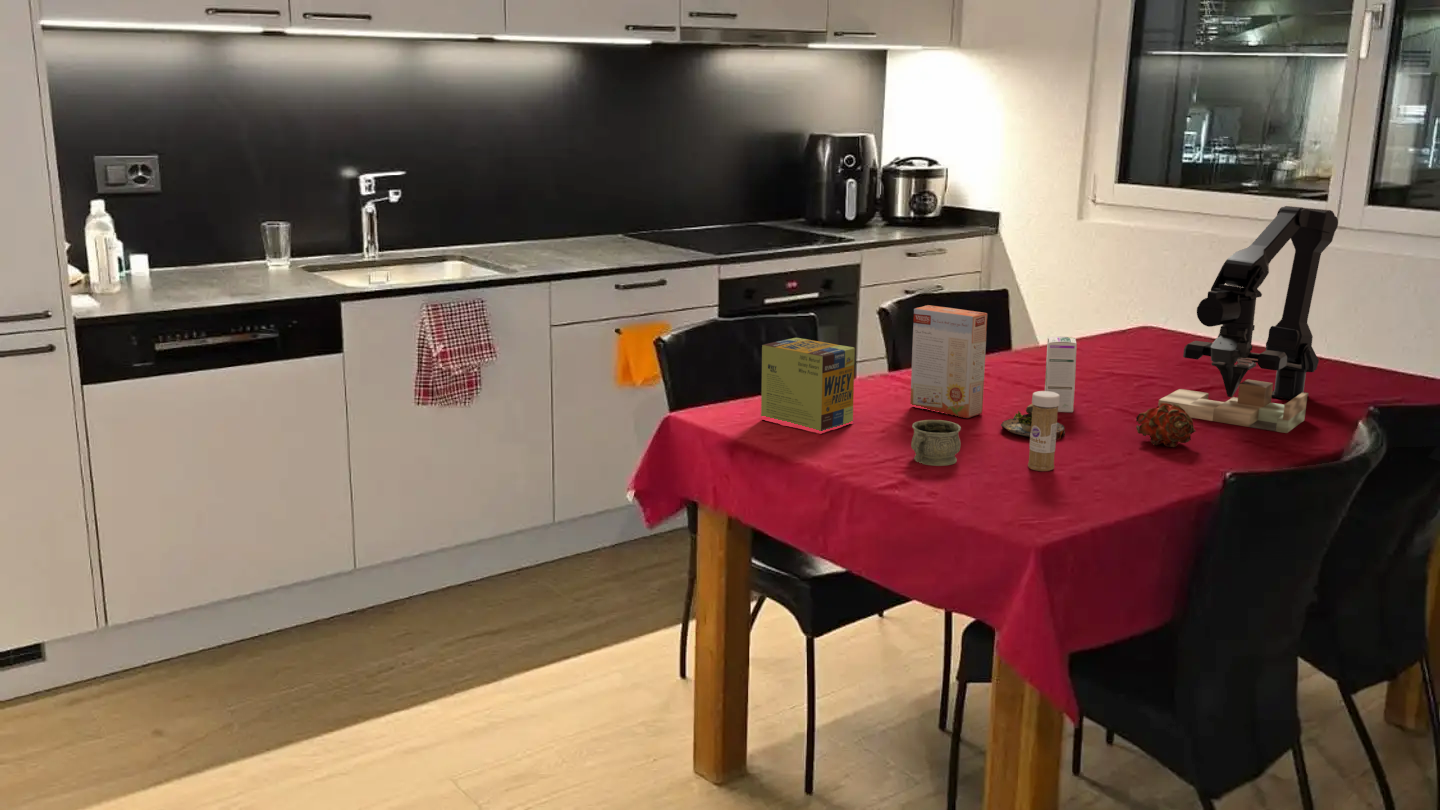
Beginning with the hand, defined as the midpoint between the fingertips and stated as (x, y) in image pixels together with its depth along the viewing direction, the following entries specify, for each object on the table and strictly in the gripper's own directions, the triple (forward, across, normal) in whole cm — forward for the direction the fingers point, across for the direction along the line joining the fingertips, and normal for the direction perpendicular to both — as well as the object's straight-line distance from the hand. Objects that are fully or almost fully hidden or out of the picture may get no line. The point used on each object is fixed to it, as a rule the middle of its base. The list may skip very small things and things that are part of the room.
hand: (1230, 396), depth 259 cm
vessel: (+4, -30, -66) cm, 73 cm away
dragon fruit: (+3, -2, -31) cm, 31 cm away
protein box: (+4, -62, -60) cm, 86 cm away
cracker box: (+4, -45, -35) cm, 57 cm away
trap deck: (+3, +1, -3) cm, 5 cm away
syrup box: (+3, -28, -19) cm, 34 cm away
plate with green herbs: (+4, -24, -39) cm, 46 cm away
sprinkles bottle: (+3, -13, -59) cm, 61 cm away
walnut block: (+1, +4, +1) cm, 5 cm away
